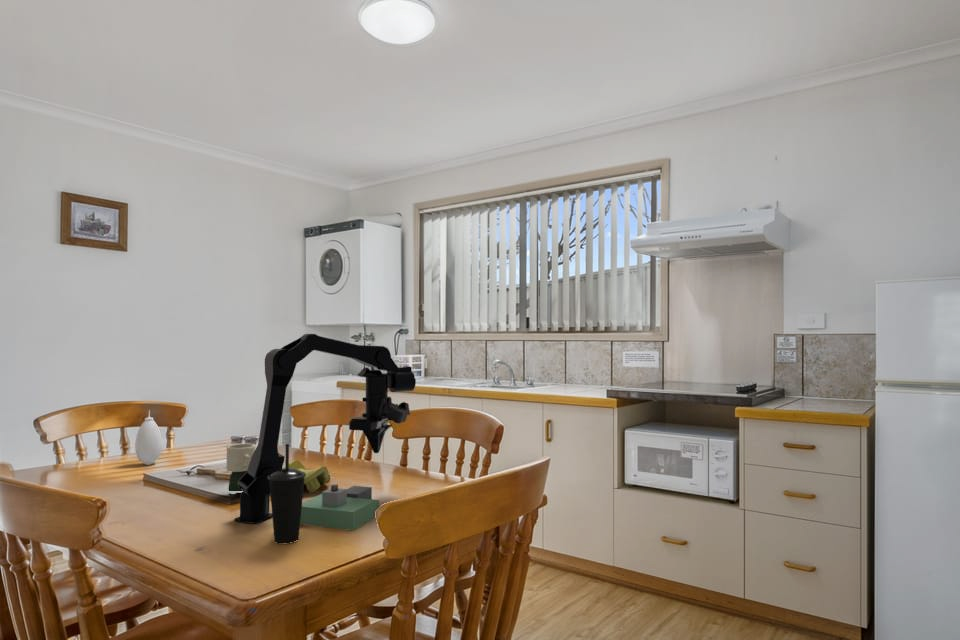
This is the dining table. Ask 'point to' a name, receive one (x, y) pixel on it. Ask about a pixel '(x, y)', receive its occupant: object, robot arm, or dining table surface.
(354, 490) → the charcoal rectangular prism
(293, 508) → the drinking cup
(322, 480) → the plastic component
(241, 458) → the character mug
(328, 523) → the green base with blocks
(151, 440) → the white bulb air blower
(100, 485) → the dining table surface
